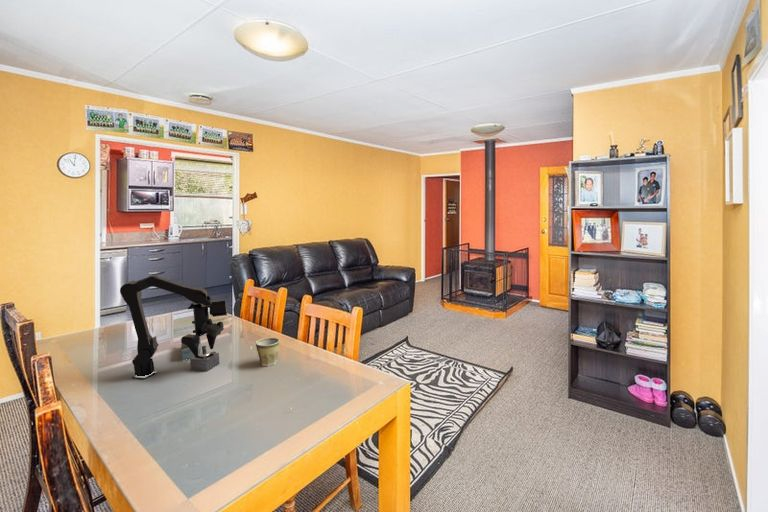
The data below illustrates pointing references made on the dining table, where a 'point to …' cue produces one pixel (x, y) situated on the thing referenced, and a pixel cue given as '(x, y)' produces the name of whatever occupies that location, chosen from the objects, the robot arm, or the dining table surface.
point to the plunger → (204, 352)
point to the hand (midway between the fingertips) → (204, 352)
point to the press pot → (205, 362)
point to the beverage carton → (188, 351)
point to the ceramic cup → (268, 351)
